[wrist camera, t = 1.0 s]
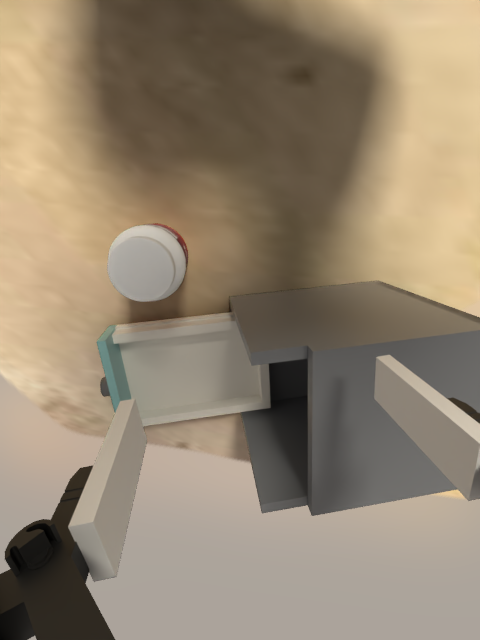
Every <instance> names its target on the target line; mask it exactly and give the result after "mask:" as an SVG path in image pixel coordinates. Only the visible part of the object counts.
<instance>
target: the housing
mask: <svg viewBox="0 0 480 640" xmlns="http://www.w3.org/2000/svg"><path fill="white" fill-rule="evenodd" d="M229 299H230V310H231V312H233V315H234V318H235V320H236V323H237V326H238V329H239V332H240V335H241V338H242V340H243V343H244V346H245V349H246V352H247V355H248V357H249V360H250V363H251V366H254V365H262V364H269V381H270V401H271V408H266V409H259V410H252V411H245V412H240V413H241V418H242V422H243V427H244V432H245V436H246V441H247V446H248V450H249V455H250V460H251V464H252V469H253V474H254V478H255V483H256V488H257V492H258V497H259V502H260V506H261V511H262V513H266V512H272V511H277V510H283V509H289V508H294V507H300V506H305V505H308V507H309V510H310V512H311V515H312V516H314V515H320V514H325V513H331V512H336V511H342V510H347V509H352V508H358V507H363V506H369V505H374V504H379V503H385V502H391V501H396V500H402V499H407V498H412V497H418V496H423V495H429V494H434V493H440V492H445V491H451V490H456V489H457V488H456V487H455V486H454V485H453V484H452V483H451V481H450V480H449V479H448V478H447V477H446V476H445V475H444V474H443V473H442V472H441V471H440V470H439V468H438V467H437V466H436V465H435V464H434V463H433V462H432V461H431V460H430V459H429V458H428V456H427V455H426V454H425V453H424V452H423V451H422V450H421V449H420V448H419V447H418V446H417V445H416V443H415V442H414V441H413V440H412V439H411V438H410V437H409V436H408V435H407V434H406V433H405V432H404V430H403V429H402V428H401V427H400V426H399V425H398V424H397V423H396V422H395V421H394V420H393V419H392V417H391V416H390V415H389V414H388V413H387V412H386V411H385V410H384V409H383V408H382V407H381V405H380V404H379V403H378V402H377V401H376V400H375V399H374V393H375V371H376V357H378V356H384V355H391V356H392V357H393V358H394V359H396V360H397V361H398V362H400V363H401V364H402V365H404V366H405V367H406V368H407V369H409V370H410V371H411V372H413V373H414V374H415V375H417V376H418V377H419V378H421V379H422V380H423V381H424V382H426V383H427V384H428V385H430V386H431V387H432V388H434V389H435V390H436V391H437V392H439V393H440V394H441V395H443V396H444V397H445V398H455V399H458V400H460V401H462V402H464V403H467V404H468V405H469V406H471V407H472V408H473V409H475V410H476V411H477V413H480V318H479V317H477V316H474V315H471V314H468V313H466V312H463V311H460V310H457V309H455V308H452V307H449V306H446V305H444V304H441V303H438V302H436V301H433V300H430V299H427V298H425V297H422V296H419V295H416V294H414V293H411V292H408V291H405V290H403V289H400V288H397V287H394V286H392V285H389V284H386V283H383V282H381V281H370V282H361V283H352V284H342V285H333V286H324V287H314V288H305V289H296V290H287V291H277V292H268V293H259V294H249V295H240V296H231V297H229Z"/></svg>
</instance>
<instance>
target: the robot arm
mask: <svg viewBox="0 0 480 640" xmlns="http://www.w3.org/2000/svg"><path fill="white" fill-rule="evenodd" d="M374 399H375V400H376V401H377V402H378V403H379V404H380V405H381V407H382V408H383V409H384V410H385V411H386V412H387V413H388V414H389V415H390V416H391V417H392V419H393V420H394V421H395V422H396V423H397V424H398V425H399V426H400V427H401V428H402V429H403V430H404V432H405V433H406V434H407V435H408V436H409V437H410V438H411V439H412V440H413V441H414V442H415V443H416V445H417V446H418V447H419V448H420V449H421V450H422V451H423V452H424V453H425V454H426V455H427V456H428V458H429V459H430V460H431V461H432V462H433V463H434V464H435V465H436V466H437V467H438V468H439V470H440V471H441V472H442V473H443V474H444V475H445V476H446V477H447V478H448V479H449V480H450V481H451V483H452V484H453V485H454V486H455V487H456V488H457V489H458V490H459V491H460V492H461V493H462V494H463V496H464V497H465V498H466V499H467V500H468V501H471V500H475V499H480V413H477V411H476V410H475V409H473V408H472V407H471V406H469V405H468V404H467V403H464V402H462V401H460V400H458V399H455V398H445V397H444V396H443V395H441V394H440V393H439V392H437V391H436V390H435V389H434V388H432V387H431V386H430V385H428V384H427V383H426V382H424V381H423V380H422V379H421V378H419V377H418V376H417V375H415V374H414V373H413V372H411V371H410V370H409V369H407V368H406V367H405V366H404V365H402V364H401V363H400V362H398V361H397V360H396V359H394V358H393V357H392V356H391V355H384V356H378V357H376V371H375V393H374ZM146 444H147V438H146V434H145V431H144V427H143V424H142V421H141V417H140V414H139V410H138V407H137V403H136V400H135V399H130V400H124V401H120V403H119V405H118V407H117V410H116V412H115V415H114V417H113V420H112V422H111V424H110V427H109V429H108V432H107V434H106V436H105V439H104V441H103V444H102V446H101V449H100V451H99V453H98V456H97V458H96V461H95V463H94V465H93V466H89V467H83V468H80V469H79V470H78V471H77V472H76V473H75V475H74V476H73V477H72V478H71V479H70V481H69V483H68V485H67V487H66V490H65V493H64V494H63V496H62V498H61V500H60V503H59V504H58V506H57V508H56V511H55V512H54V515H53V517H52V519H51V520H44V519H43V520H39V521H35V522H33V523H31V524H29V525H28V526H26V527H24V528H23V529H22V530H21V531H20V532H18V533H17V534H16V535H15V536H14V538H13V539H12V540H11V541H10V542H9V544H8V546H7V549H6V551H5V560H6V562H7V563H8V565H9V567H10V568H11V569H10V570H8V571H6V572H4V573H2V574H0V640H27V639H29V638H31V637H33V636H34V635H35V636H36V639H37V640H115V639H114V637H113V635H112V633H111V631H110V629H109V627H108V625H107V623H106V622H105V620H104V618H103V616H102V614H101V613H100V610H99V608H98V607H97V605H96V603H95V601H94V599H93V597H92V596H91V593H90V591H89V590H88V588H87V586H86V584H85V583H86V579H87V576H88V573H90V575H91V577H92V579H93V581H94V582H95V581H99V580H104V579H109V578H114V577H116V576H117V572H118V567H119V563H120V558H121V554H122V550H123V545H124V541H125V537H126V532H127V528H128V523H129V519H130V514H131V510H132V505H133V501H134V497H135V492H136V488H137V483H138V479H139V475H140V470H141V466H142V461H143V457H144V453H145V448H146Z"/></svg>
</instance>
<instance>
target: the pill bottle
mask: <svg viewBox="0 0 480 640" xmlns="http://www.w3.org/2000/svg"><path fill="white" fill-rule="evenodd" d="M187 262H188V250H187V246H186V244H185V242H184V240H183V238H182V237H181V236H180V234H179V233H178V232H176V231H175V230H174V229H172V228H171V227H169V226H166V225H163V224H156V223H155V224H146V225H138V226H134V227H131V228H129V229H127V230H125V231H123V232H122V233H121V234H119V235H118V236H117V237H116V239H115V240H114V241H113V243H112V245H111V247H110V250H109V254H108V265H107V269H108V275H109V278H110V280H111V283H112V284H113V286H114V287H115V288H116V289H117V291H118V292H119V293H121V294H122V295H123V296H125V297H127V298H129V299H131V300H134V301H140V302H147V301H158V300H161V299H164V298H166V297H168V296H170V295H171V294H173V293H174V292H175V291H176V290H177V289H178V288H179V286H180V285H181V283H182V281H183V279H184V276H185V272H186V267H187Z"/></svg>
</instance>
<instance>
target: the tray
mask: <svg viewBox="0 0 480 640" xmlns="http://www.w3.org/2000/svg"><path fill="white" fill-rule="evenodd" d="M97 345H98V349H99V353H100V357H101V361H102V365H103V369H104V373H105V376H106V377H105V378H102V380H101V393H102V395H103V396H104V397H105V396H111V400H112V404H113V408H114V411H115V412H116V410H117V407H118V405H119V403H120V401H124V400H130V399H135V400H136V403H137V407H138V410H139V414H140V417H141V421H142V424H143V426H149V425H156V424H163V423H170V422H176V421H183V420H190V419H197V418H204V417H211V416H218V415H225V414H231V413H238V412H245V411H252V410H259V409H266V408H271V401H270V381H269V364H262V365H254V366H251V363H250V360H249V357H248V355H247V352H246V349H245V346H244V343H243V340H242V338H241V335H240V332H239V329H238V326H237V323H236V320H235V318H234V315H233V312H227V313H218V314H209V315H200V316H192V317H183V318H174V319H165V320H156V321H147V322H138V323H129V324H121V325H112V326H109V327H108V328H107V329H106V331H105V332H104V333H103V334H102V336H101V337H100V338H99V339H98V341H97Z"/></svg>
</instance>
